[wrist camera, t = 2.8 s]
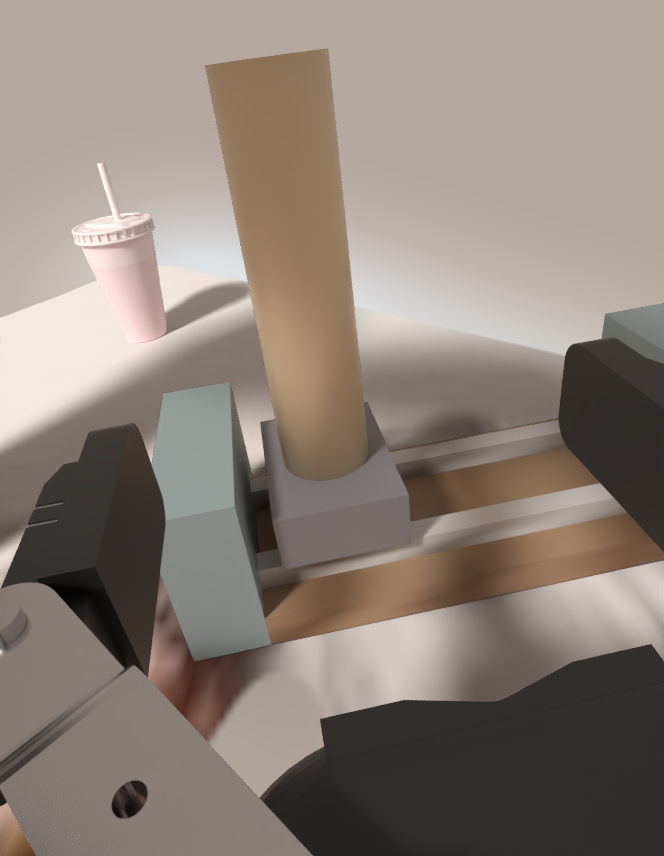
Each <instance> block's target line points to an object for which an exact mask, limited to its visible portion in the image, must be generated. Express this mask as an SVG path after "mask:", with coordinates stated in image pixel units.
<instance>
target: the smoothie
mask: <svg viewBox="0 0 664 856" xmlns="http://www.w3.org/2000/svg"><path fill="white" fill-rule="evenodd" d="M97 165H98V168H99V171H100V175H101V178H102V181H103V184H104V188H105V191H106V194H107V198H108V201H109V204H110V207H111V211H112V214H113V215H112V216H106V217H102V218H98V219H94V220H91V221H88V222H85V223H82V224H80V225H78V226H76V227H74V228H73V229H72V234H73V237H74V242H75V244H76V245H79V246H81V248H82V250H83V252H84V254H85V256H86V259H87V261H88V263H89V265H90V267H91V269H92V271H93V273H94V275H95V277H96V279H97V281H98V284H99V286H100V288H101V290H102V292H103V294H104V296H105V298H106V300H107V302H108V304H109V306H110V309H111V311H112V313H113V315H114V317H115V319H116V321H117V323H118V325H119V327H120V329H121V331H122V333H123V336H124V338H125V340H126V341H127V342H130V343H143V342H148V341H152V340H155V339H157V338H159V337H161V336H163V335H164V334H165V333H166V332H167V325H166V318H165V312H164V305H163V299H162V292H161V286H160V279H159V273H158V266H157V260H156V254H155V246H154V240H153V235H152V231H153V230H154V229H155V226H154V224H153V220H152V216H151V215H150V214H147V213H125V214H120V212H119V209H118V206H117V203H116V199H115V196H114V192H113V189H112V186H111V182H110V179H109V176H108V172H107V169H106V166H105V163H104V162H101V163H98V164H97Z"/></svg>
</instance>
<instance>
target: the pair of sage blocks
mask: <svg viewBox="0 0 664 856" xmlns="http://www.w3.org/2000/svg"><path fill="white" fill-rule="evenodd" d="M610 337H614V338H617V339H619V340H620V341H622V342H623V343H624V344H626V345H627V346H629V347H630V348H632V349H633V350H635V351H636V352H638V353H639V354H641V355H642V356H644V357H645V358H648V359H651V360H654V361H657V362H659V363H662V364H664V303H663V304H657V305H652V306H646V307H641V308H635V309H630V310H624V311H619V312H613V313H608V314H605V319H604V326H603V333H602V339H604V338H610ZM151 465H152V468H153V471H154V473H155V476H156V479H157V482H158V485H159V488H160V491H161V494H162V498H163V502H164V508H165V518H166V525H165V534H164V543H163V552H162V560H161V569H160V574H161V577H162V580H163V582H164V585H165V587H166V590H167V592H168V595H169V598H170V600H171V603H172V605H173V608H174V610H175V613H176V616H177V618H178V621H179V623H180V626H181V628H182V631H183V634H184V636H185V639H186V641H187V644H188V646H189V649H190V650H191V651H190V652H191V654H192V655H193V656H192V657H193V659H195V658H196V659H195V660H194V661H196V660H197V661H198V659H197V657H198V658H199V660H200V659H201V658H202V659H201V660H204V659H208V658H210V657H211V656H212V657H211V658H213V657H217V656H222V655H227V654H231V653H236V652H240V651H245V650H250V649H254V648H259V647H264V646H268V645H272V644H271V640H270V637H269V633H268V629H267V626H266V622H265V616H264V604H263V592H262V586H261V582H260V579H259V575H258V570H257V557H256V553H259V545H258V533H257V521H256V509H255V505H254V501H253V497H252V493H251V481H250V480H251V479H253V476H252V472H251V468H250V464H249V460H248V455H247V451H246V447H245V443H244V439H243V434H242V430H241V426H240V422H239V418H238V413H237V409H236V405H235V401H234V397H233V392H232V388H231V384H230V382H224V383H219V384H213V385H208V386H202V387H197V388H191V389H185V390H180V391H174V392H169V393H163V399H162V405H161V411H160V417H159V423H158V429H157V435H156V441H155V447H154V452H153V458H152V464H151ZM233 649H234V651H233ZM205 650H206V651H205ZM220 650H221V651H220ZM202 652H203V653H202ZM204 653H205V654H204ZM212 653H213V654H214V655H213V654H212ZM218 653H219V654H218ZM194 654H195V655H194ZM215 654H216V655H215ZM221 654H222V655H221ZM196 656H197V657H196Z"/></svg>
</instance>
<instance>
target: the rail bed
mask: <svg viewBox="0 0 664 856" xmlns="http://www.w3.org/2000/svg"><path fill="white" fill-rule="evenodd" d="M389 452H390V454H391V456H392V459H393V461H394V463H395V465H396V467H397V470H398V472H399V474H400V476H401V479H402V481H403V483H404V485H405V488H406V490H407V492H408V494H409V508H410V525H411V542H412V543H410V544H405V545H401V546H396V547H391V548H386V549H381V550H376V551H372V552H367V553H362V554H357V555H352V556H347V557H343V558H338V559H333V560H328V561H323V562H318V563H314V564H309V565H304V566H299V567H294V568H289V569H285V570H283V567H282V563H281V558H280V554H279V550H278V545H277V541H276V536H275V532H274V528H273V523H272V516H271V507H270V499H269V491H268V482H267V475H264V476H259V477H254V478H253V479H251V480H250V481H251V493H252V497H253V501H254V505H255V509H256V521H257V533H258V545H259V553H256V557H257V570H258V575H259V579H260V582H261V586H262V592H263V604H264V616H265V622H266V626H267V629H268V633H269V637H270V640H271V644H272V645H273V644H277V643H282V642H287V641H291V640H296V639H301V638H305V637H310V636H314V635H319V634H324V633H328V632H333V631H338V630H342V629H347V628H351V627H356V626H361V625H365V624H370V623H375V622H379V621H384V620H388V619H393V618H398V617H402V616H407V615H412V614H416V613H421V612H425V611H430V610H435V609H439V608H444V607H448V606H453V605H458V604H462V603H467V602H472V601H476V600H481V599H485V598H490V597H495V596H499V595H504V594H509V593H513V592H518V591H522V590H527V589H532V588H536V587H541V586H546V585H550V584H555V583H559V582H564V581H569V580H573V579H578V578H583V577H587V576H592V575H596V574H601V573H606V572H610V571H615V570H620V569H624V568H629V567H633V566H638V565H643V564H647V563H652V562H656V561H661V560H664V552H663V551H662V550H661V549H660V548H659V546H658V545H657V544H656V543H655V542H654V541H653V540H652V539H651V538H650V537H649V536H648V535H647V533H646V532H645V531H644V530H643V529H642V528H641V527H640V526H639V525H638V524H637V523H636V521H635V520H634V519H633V518H632V517H631V516H630V515H629V514H628V513H627V512H626V511H625V510H624V508H623V507H622V506H621V505H620V504H619V503H618V502H617V501H616V500H615V499H614V498H613V496H612V495H611V494H610V493H609V492H608V491H607V490H606V489H605V488H604V487H603V486H602V485H601V483H600V482H599V481H598V480H597V479H596V478H595V477H594V476H593V475H592V474H591V473H590V471H589V470H588V469H587V468H586V467H585V466H584V465H583V464H582V463H581V462H580V461H579V460H578V458H577V457H576V456H575V455H574V454H573V453H572V452H571V451H570V450H569V449H568V447H567V446H566V444H565V443H564V441H563V438H562V436H561V432H560V428H559V418H558V419H553V420H548V421H543V422H538V423H533V424H527V425H522V426H517V427H512V428H507V429H502V430H496V431H491V432H486V433H481V434H476V435H471V436H465V437H460V438H455V439H450V440H445V441H440V442H434V443H429V444H424V445H419V446H414V447H409V448H403V449H398V450H393V451H389ZM190 651H191V650H190ZM205 651H206V650H205ZM220 651H221V650H220ZM233 651H234V649H233ZM202 653H203V652H202ZM204 654H205V653H204ZM212 654H213V653H212ZM218 654H219V653H218ZM194 655H195V654H194ZM213 655H214V654H213ZM215 655H216V654H215ZM221 655H222V654H221ZM192 656H193V655H192ZM196 657H197V656H196ZM211 657H212V656H211ZM211 657H210V658H211ZM195 659H196V658H195ZM195 659H194V660H195ZM197 659H198V661H199V658H198V657H197ZM201 659H202V658H201ZM201 659H200V660H201ZM196 661H197V660H196Z"/></svg>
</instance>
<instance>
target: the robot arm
mask: <svg viewBox="0 0 664 856" xmlns="http://www.w3.org/2000/svg"><path fill="white" fill-rule="evenodd" d="M559 428H560V432H561V436H562V438H563V441H564V443H565V444H566V446H567V447H568V449H569V450H570V451H571V452H572V453H573V454H574V455H575V456H576V457H577V458H578V460H579V461H580V462H581V463H582V464H583V465H584V466H585V467H586V468H587V469H588V470H589V471H590V473H591V474H592V475H593V476H594V477H595V478H596V479H597V480H598V481H599V482H600V483H601V485H602V486H603V487H604V488H605V489H606V490H607V491H608V492H609V493H610V494H611V495H612V496H613V498H614V499H615V500H616V501H617V502H618V503H619V504H620V505H621V506H622V507H623V508H624V510H625V511H626V512H627V513H628V514H629V515H630V516H631V517H632V518H633V519H634V520H635V521H636V523H637V524H638V525H639V526H640V527H641V528H642V529H643V530H644V531H645V532H646V533H647V535H648V536H649V537H650V538H651V539H652V540H653V541H654V542H655V543H656V544H657V545H658V546H659V548H660V549H661V550H662V551H663V552H664V364H662V363H659V362H657V361H654V360H651V359H648V358H645V357H644V356H642V355H641V354H639V353H638V352H636V351H635V350H633V349H632V348H630V347H629V346H627V345H626V344H624V343H623V342H622V341H620V340H619V339H617V338H614V337H610V338H604V339H599V340H594V341H588V342H583V343H577V344H573V345H571V346H570V347H569V349H568V350H567V352H566V356H565V362H564V371H563V380H562V390H561V399H560V408H559ZM28 524H29V528H26V530H25V532H24V535H23V537H22V539H21V542H20V544H19V546H18V549H17V551H16V554H15V556H14V558H13V561H12V563H11V566H10V568H9V570H8V573H7V575H6V577H5V580H4V582H3V585H2V587H1V589H0V806H2V805H4V804H5V803H8V805H9V807H10V808H11V810H12V812H13V814H14V816H15V818H16V820H17V821H18V823H19V825H20V827H21V829H22V831H23V833H24V834H25V836H26V838H27V840H28V842H29V844H30V846H31V847H32V849H33V851H34V853H35V855H36V856H664V661H663V659H662V658H661V657H660V655H659V654H658V653H657V651H656V650H655V649H654V647H653V646H652V645H651V644H650V645H645V646H641V647H636V648H632V649H628V650H623V651H619V652H614V653H610V654H606V655H601V656H597V657H592V658H588V659H583V660H579V661H575V662H572V663H570V664H568V665H566V666H564V667H562V668H561V669H559V670H557V671H555V672H553V673H551V674H550V675H548V676H546V677H544V678H542V679H540V680H539V681H537V682H535V683H533V684H531V685H529V686H528V687H526V688H524V689H522V690H520V691H518V692H517V693H515V694H513V695H511V696H509V697H507V698H505V699H503V700H500V701H496V702H466V701H422V700H402V701H398V702H393V703H389V704H385V705H380V706H376V707H371V708H367V709H363V710H358V711H354V712H349V713H345V714H340V715H336V716H332V717H327V718H323V719H320V722H321V728H322V735H323V741H324V747H322V748H321V749H319V750H317V751H315V752H313V753H312V754H310V755H308V756H306V757H305V758H304V759H302V760H301V761H299V762H298V763H297V764H295V765H294V766H292V767H291V768H290V769H288V770H287V771H286V772H285V773H284V774H283V775H282V776H280V777H279V778H278V779H277V780H276V781H275V782H274V783H273V784H272V785H271V786H270V787H269V788H268V789H267V790H266V791H265V793H264V794H263V795H262V796H261V797H260V798H259V797H258V796H257V795H256V794H255V793H254V792H253V791H252V790H251V789H250V787H249V786H248V785H247V784H246V783H245V782H244V781H243V780H242V779H241V778H240V777H239V776H238V775H237V773H235V771H234V770H233V769H232V768H231V767H230V766H229V765H228V764H227V763H226V762H225V761H224V759H222V757H221V756H220V755H219V754H218V753H217V752H216V751H215V750H214V749H213V748H212V747H211V745H210V744H209V743H208V742H207V741H206V740H205V739H204V738H203V737H202V736H201V735H200V734H199V733H198V731H197V730H196V729H195V728H194V727H193V726H192V725H191V724H190V723H189V722H188V721H187V720H186V719H185V717H184V716H183V715H182V714H181V713H180V712H179V711H178V710H177V709H176V708H175V707H174V706H173V705H172V704H171V702H170V701H169V700H168V699H167V698H166V697H165V696H164V695H163V694H162V693H161V692H160V691H159V690H158V688H157V687H156V686H155V685H154V684H153V683H152V682H151V681H150V680H149V679H148V672H149V663H150V654H151V646H152V637H153V629H154V620H155V612H156V603H157V594H158V586H159V577H160V569H161V560H162V552H163V543H164V534H165V525H166V518H165V508H164V502H163V498H162V494H161V491H160V488H159V485H158V482H157V479H156V476H155V473H154V471H153V468H152V465H151V462H150V459H149V456H148V453H147V451H146V448H145V445H144V442H143V439H142V436H141V434H140V431H139V429H138V428H137V426H136V425H135V424H127V425H122V426H116V427H111V428H105V429H100V430H94V431H90V432H89V434H88V436H87V439H86V442H85V445H84V447H83V450H82V453H81V456H80V459H79V461H78V462H74V463H68V464H64V465H63V466H62V467H61V468H60V469H59V470H58V471H57V472H56V473H55V474H54V475H53V476H52V477H51V478H50V479H49V480H48V481H47V483H46V484H45V485H44V487H43V489H42V492H41V494H40V496H39V499H38V501H37V504H36V510H34V511H33V513H32V515H31V518H30V520H29V523H28Z"/></svg>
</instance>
